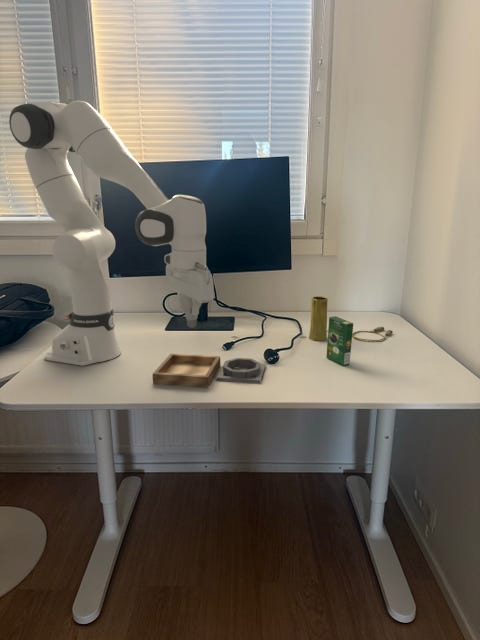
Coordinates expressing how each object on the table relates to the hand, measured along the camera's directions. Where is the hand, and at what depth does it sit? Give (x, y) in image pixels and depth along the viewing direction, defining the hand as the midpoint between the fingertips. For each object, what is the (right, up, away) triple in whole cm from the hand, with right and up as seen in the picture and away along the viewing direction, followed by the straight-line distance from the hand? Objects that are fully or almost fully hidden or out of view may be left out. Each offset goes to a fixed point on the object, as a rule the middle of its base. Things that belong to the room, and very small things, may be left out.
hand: (189, 311), depth 118 cm
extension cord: (+60, -9, +36) cm, 71 cm away
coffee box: (+43, -15, +13) cm, 47 cm away
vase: (+41, -9, +34) cm, 54 cm away
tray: (-1, -17, +5) cm, 18 cm away
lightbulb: (+1, -5, +2) cm, 5 cm away
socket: (+14, -17, +5) cm, 23 cm away
